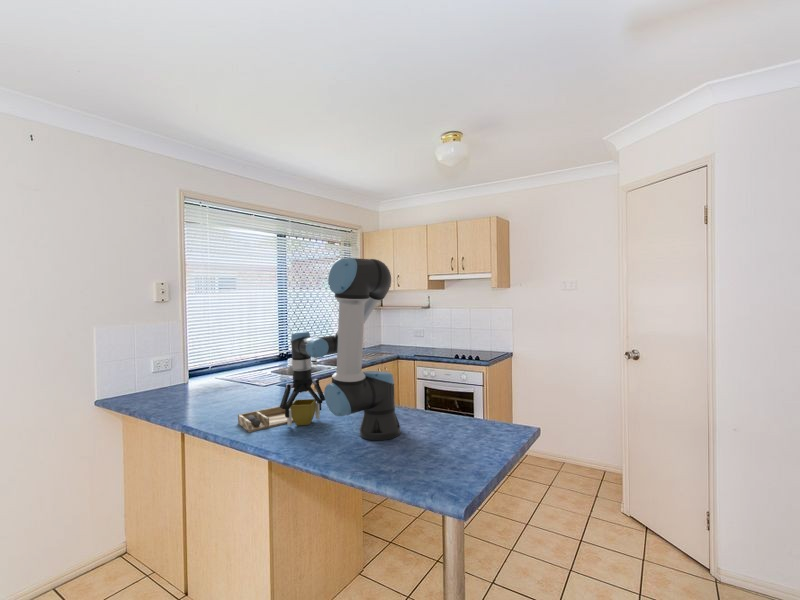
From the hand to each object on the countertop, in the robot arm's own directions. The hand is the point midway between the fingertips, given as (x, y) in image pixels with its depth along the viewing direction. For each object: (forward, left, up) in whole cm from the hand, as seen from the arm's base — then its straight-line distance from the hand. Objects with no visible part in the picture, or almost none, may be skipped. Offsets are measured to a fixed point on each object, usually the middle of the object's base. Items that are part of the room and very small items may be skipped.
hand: (304, 421), depth 164 cm
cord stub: (+12, +17, 0) cm, 21 cm away
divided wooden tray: (+13, +10, -1) cm, 16 cm away
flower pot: (0, 0, -1) cm, 1 cm away
